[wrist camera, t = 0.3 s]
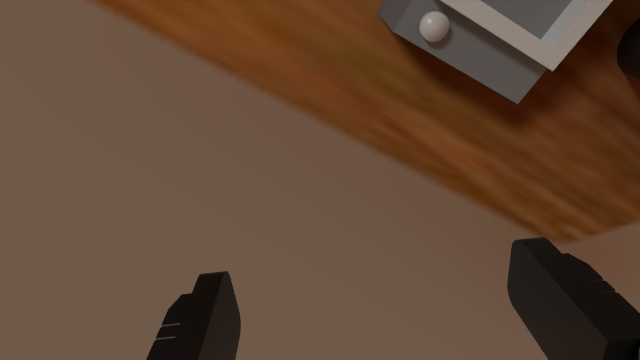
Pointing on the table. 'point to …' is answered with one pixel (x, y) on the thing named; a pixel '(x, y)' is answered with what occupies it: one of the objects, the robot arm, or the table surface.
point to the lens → (630, 51)
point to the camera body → (495, 35)
